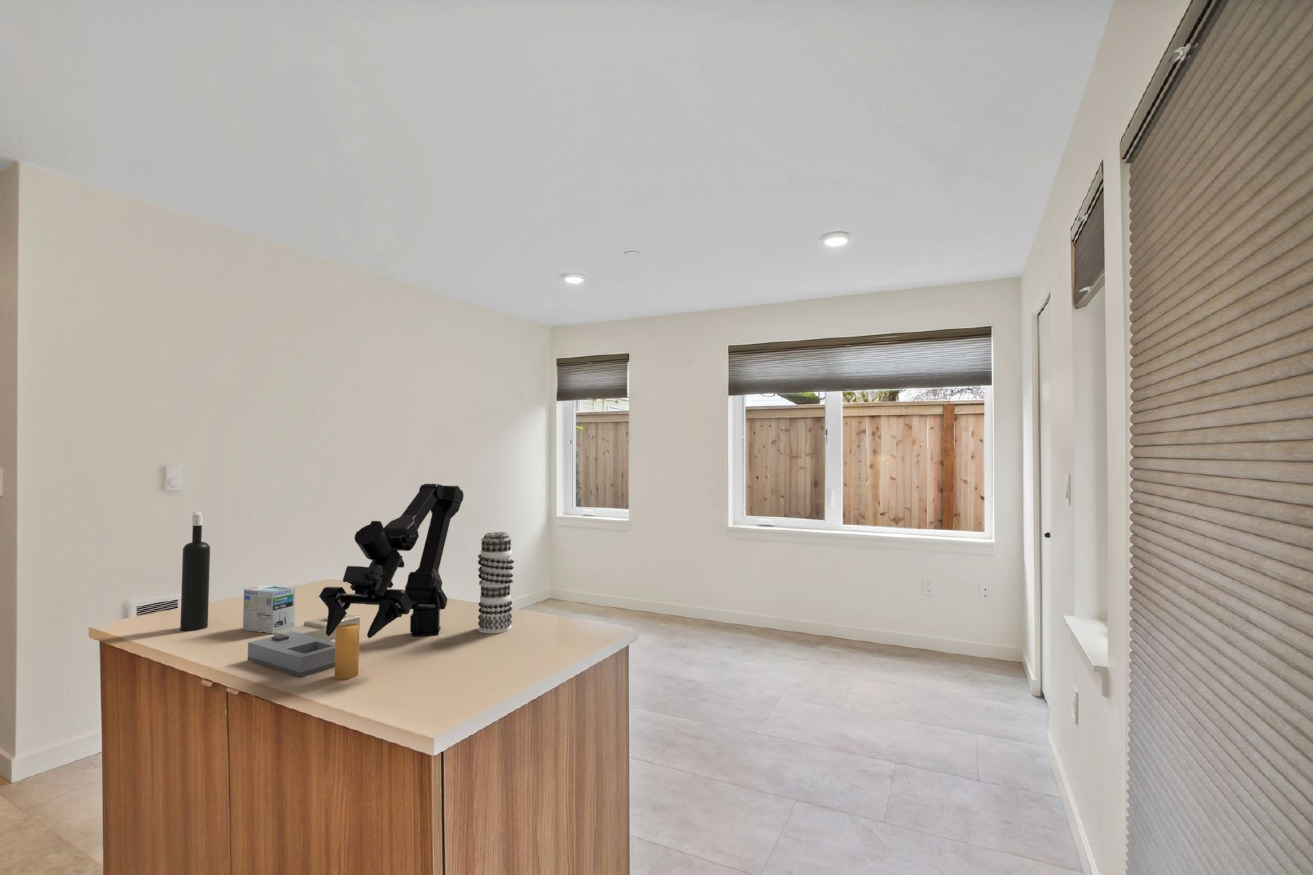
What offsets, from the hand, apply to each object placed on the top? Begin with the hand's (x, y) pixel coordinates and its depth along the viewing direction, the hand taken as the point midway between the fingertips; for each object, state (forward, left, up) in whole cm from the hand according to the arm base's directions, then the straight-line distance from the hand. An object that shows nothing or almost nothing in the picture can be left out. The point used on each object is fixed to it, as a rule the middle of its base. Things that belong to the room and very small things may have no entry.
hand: (347, 635), depth 129 cm
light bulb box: (+28, -42, -8) cm, 51 cm away
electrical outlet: (+13, -30, -8) cm, 34 cm away
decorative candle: (-29, -30, -8) cm, 42 cm away
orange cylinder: (0, 0, -8) cm, 8 cm away
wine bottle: (+47, -47, -8) cm, 67 cm away
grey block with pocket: (+13, -11, -8) cm, 19 cm away
